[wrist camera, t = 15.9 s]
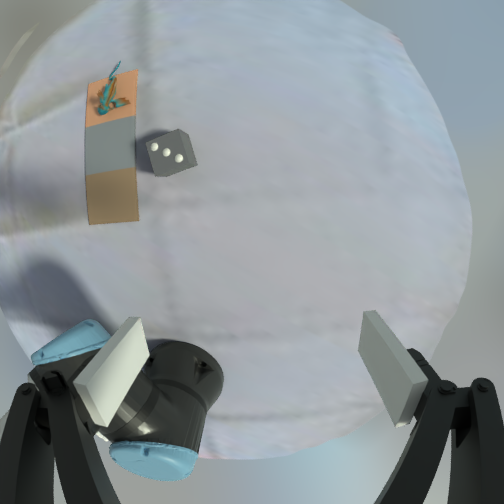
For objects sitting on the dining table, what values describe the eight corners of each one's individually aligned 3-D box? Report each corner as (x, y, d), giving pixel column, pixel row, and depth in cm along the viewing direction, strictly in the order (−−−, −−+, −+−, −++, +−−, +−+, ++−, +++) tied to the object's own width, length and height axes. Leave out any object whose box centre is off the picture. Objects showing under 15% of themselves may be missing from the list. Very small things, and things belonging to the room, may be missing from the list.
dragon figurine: (83, 87, 34) (83, 115, 32) (104, 55, 30) (105, 80, 28) (113, 95, 39) (116, 123, 38) (135, 66, 35) (141, 91, 34)
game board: (139, 220, 41) (138, 221, 40) (90, 224, 41) (89, 224, 41) (138, 69, 34) (137, 69, 34) (89, 84, 35) (88, 84, 35)
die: (197, 165, 38) (188, 163, 34) (167, 176, 39) (154, 176, 34) (188, 134, 37) (178, 128, 32) (158, 146, 38) (145, 142, 33)
